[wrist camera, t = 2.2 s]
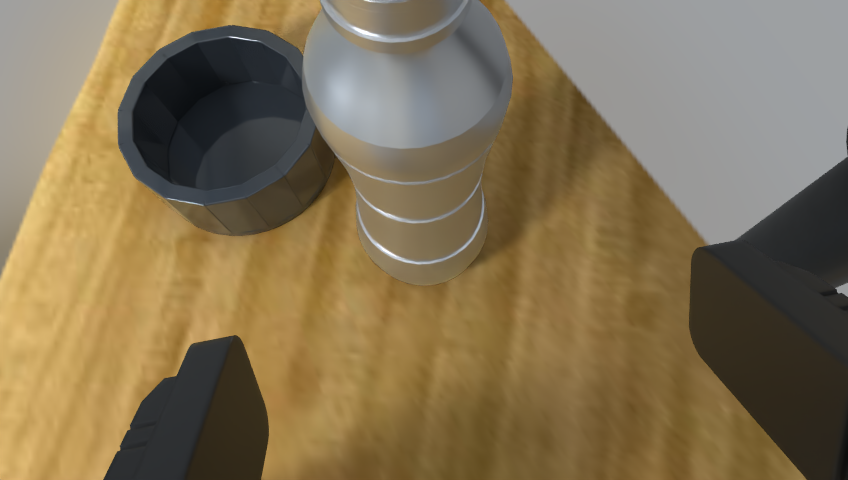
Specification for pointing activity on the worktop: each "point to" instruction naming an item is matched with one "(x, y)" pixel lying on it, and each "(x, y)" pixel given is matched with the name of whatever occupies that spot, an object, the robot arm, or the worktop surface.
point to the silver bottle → (411, 123)
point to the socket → (225, 131)
